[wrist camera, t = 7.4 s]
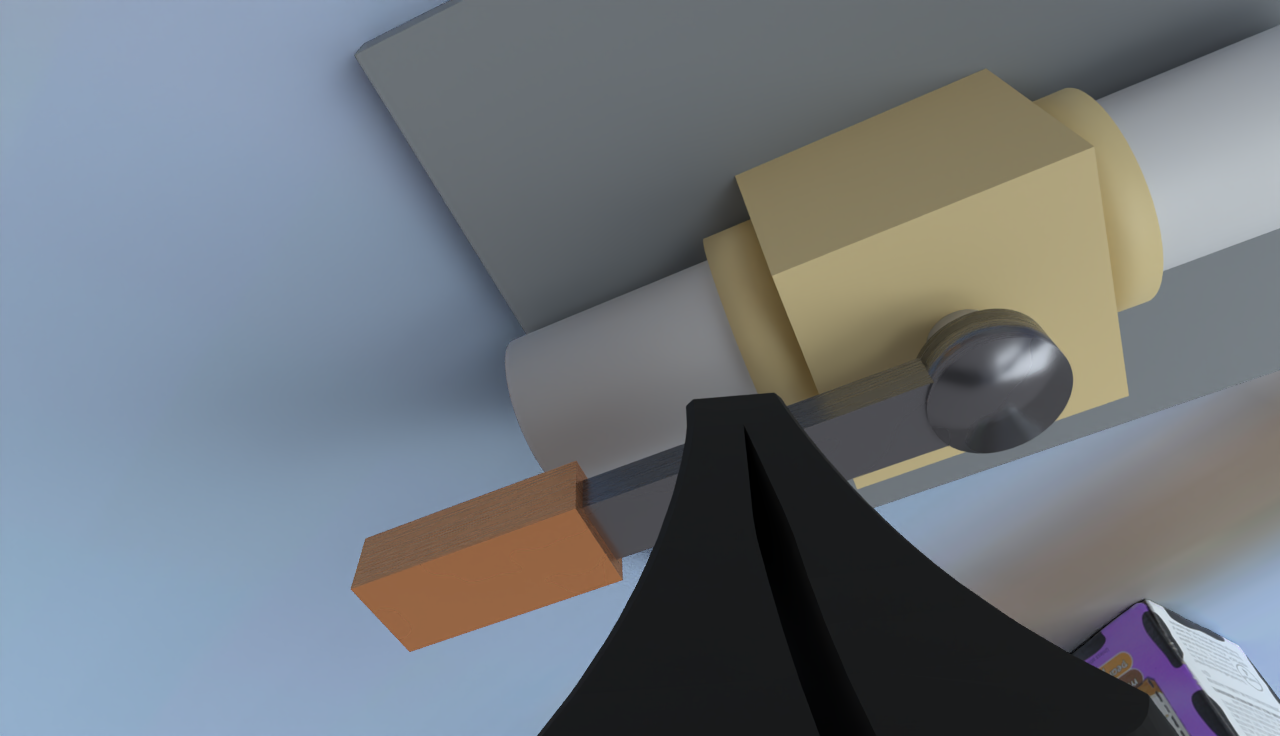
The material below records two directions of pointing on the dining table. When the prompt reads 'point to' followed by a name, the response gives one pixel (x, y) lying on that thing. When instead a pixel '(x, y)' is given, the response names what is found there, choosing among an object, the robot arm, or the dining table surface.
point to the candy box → (1186, 673)
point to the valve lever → (642, 490)
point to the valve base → (741, 85)
